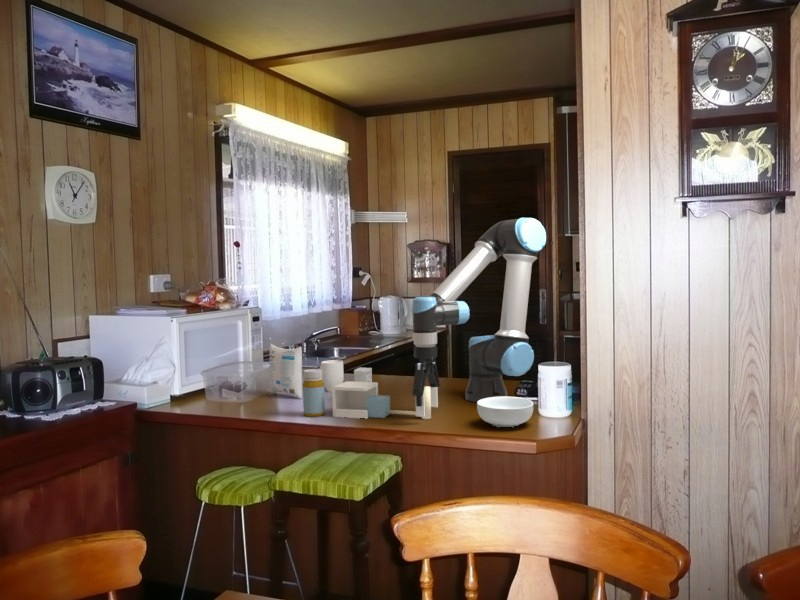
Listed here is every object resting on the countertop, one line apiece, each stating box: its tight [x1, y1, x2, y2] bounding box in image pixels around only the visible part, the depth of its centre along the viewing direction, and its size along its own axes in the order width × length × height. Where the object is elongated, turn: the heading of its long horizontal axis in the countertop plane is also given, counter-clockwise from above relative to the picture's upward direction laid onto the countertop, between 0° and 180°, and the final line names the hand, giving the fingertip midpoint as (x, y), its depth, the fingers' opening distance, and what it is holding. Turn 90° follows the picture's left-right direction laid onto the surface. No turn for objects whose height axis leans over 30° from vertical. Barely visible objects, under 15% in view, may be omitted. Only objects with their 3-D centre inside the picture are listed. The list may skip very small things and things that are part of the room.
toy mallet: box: [366, 385, 432, 420], centre depth 207 cm, size 21×6×10 cm, turn 70°
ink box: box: [353, 367, 373, 382], centre depth 234 cm, size 9×5×12 cm, turn 168°
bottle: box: [302, 368, 326, 418], centre depth 213 cm, size 7×7×15 cm
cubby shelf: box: [331, 380, 379, 420], centre depth 212 cm, size 12×10×10 cm
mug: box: [318, 359, 345, 393], centre depth 255 cm, size 12×9×12 cm
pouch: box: [269, 343, 303, 400], centre depth 246 cm, size 8×19×20 cm, turn 44°
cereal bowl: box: [476, 395, 534, 428], centre depth 193 cm, size 17×17×7 cm
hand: (427, 411), depth 204 cm, fingers open, 13 cm apart
